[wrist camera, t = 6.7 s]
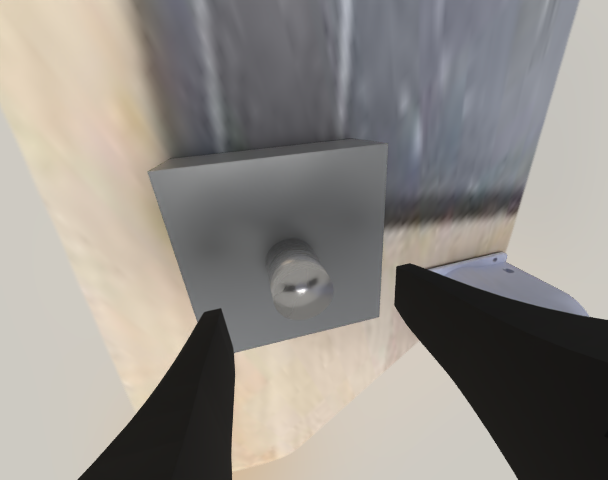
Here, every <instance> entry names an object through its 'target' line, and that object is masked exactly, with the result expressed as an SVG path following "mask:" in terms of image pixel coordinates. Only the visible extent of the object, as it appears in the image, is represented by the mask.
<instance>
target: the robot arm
mask: <svg viewBox="0 0 608 480" xmlns="http://www.w3.org/2000/svg"><path fill="white" fill-rule="evenodd" d="M506 259H507V254H506V253H504V252H499V253H495V254H491V255H487V256H482V257H478V258H474V259H470V260H465V261H461V262H457V263H453V264H449V265H444V266H440V267H436V268H432V269H425V268H422V267H419V266H416V265H413V264H410V263H409V264H405V265H401V266H397V267H396V285H395V303H394V305H395V307H396V309H397V310H398V312H399V314H400V315H401V317H402V318H403V320H404V321H405V323H406V324H407V326H408V327H409V328H410V329H411V331H412V332H413V333H414V334H415V335H416V337H417V338H418V339H419V340H420V341H421V343H422V344H423V345H424V346H425V347H426V348H427V350H428V351H429V352H430V353H431V354H432V356H433V357H434V358H435V359H436V360H437V361H438V363H439V364H440V365H441V366H442V367H443V368H444V370H445V371H446V372H447V373H448V375H449V376H450V377H451V378H452V380H453V381H454V382H455V384H456V385H457V386H458V388H459V389H460V391H461V392H462V394H463V395H464V396H465V398H466V399H467V401H468V402H469V403H470V405H471V406H472V408H473V409H474V411H475V412H476V414H477V415H478V417H479V418H480V420H481V421H482V423H483V424H484V426H485V427H486V429H487V430H488V432H489V433H490V435H491V436H492V438H493V440H494V441H495V443H496V444H497V446H498V448H499V449H500V451H501V452H502V454H503V455H504V457H505V459H506V460H507V462H508V464H509V465H510V467H511V468H512V470H513V472H514V473H515V475H516V477H517V478H518V480H608V320H604V319H598V318H593V317H589V315H588V314H587V312H586V311H585V309H584V308H583V307H582V306H581V305H580V304H579V303H578V302H577V301H576V300H575V299H574V298H573V297H571V296H570V295H568V294H567V293H565V292H563V291H562V290H559V289H558V288H556V287H554V286H552V285H550V284H548V283H546V282H544V281H542V280H540V279H538V278H536V277H534V276H532V275H530V274H528V273H526V272H524V271H522V270H520V269H519V268H517V267H515V266H513V265H511V264H509V263H507V262H506ZM234 386H235V364H234V349H233V345H232V342H231V338H230V335H229V332H228V329H227V325H226V322H225V319H224V316H223V312H222V309H221V308H219V309H215V310H210V311H206V312H204V313H203V314H202V316H201V318H200V319H199V321H198V323H197V325H196V327H195V328H194V330H193V332H192V333H191V335H190V337H189V339H188V340H187V342H186V344H185V345H184V347H183V348H182V350H181V352H180V353H179V355H178V356H177V358H176V360H175V361H174V363H173V364H172V366H171V367H170V369H169V370H168V371H167V373H166V374H165V376H164V377H163V379H162V380H161V382H160V383H159V384H158V386H157V387H156V389H155V390H154V391H153V393H152V394H151V395H150V397H149V398H148V399H147V401H146V402H145V403H144V405H143V406H142V407H141V408H140V410H139V411H138V412H137V413H136V415H135V416H134V417H133V418H132V420H131V421H130V422H129V423H128V425H127V426H126V427H125V428H124V429H123V430H122V431H121V432H120V434H119V435H118V436H117V437H116V438H115V439H114V440H113V441H112V443H111V444H110V445H109V446H108V447H107V448H106V449H105V451H104V452H103V453H102V454H101V455H100V456H99V457H98V458H97V460H96V461H95V462H94V463H93V464H92V465H91V466H90V467H89V468H88V469H87V470H86V471H85V472H84V473H83V474H82V476H80V478H79V479H78V480H232V463H231V446H232V424H233V405H234Z"/></svg>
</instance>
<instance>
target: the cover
mask: <svg viewBox="0 0 608 480" xmlns="http://www.w3.org/2000/svg"><path fill="white" fill-rule="evenodd" d="M387 154H388V143H382V142H374V141H367V140H359V139H343V140H334V141H325V142H316V143H307V144H298V145H289V146H280V147H271V148H262V149H253V150H244V151H235V152H226V153H217V154H208V155H199V156H190V157H181V158H172V159H169V160H167V161H165V162H164V163H162V164H160V165H158V166H157V167H155V168H153V169H151V170H149V171H148V175H149V178H150V181H151V184H152V187H153V190H154V193H155V196H156V199H157V202H158V205H159V208H160V211H161V214H162V217H163V220H164V223H165V226H166V229H167V232H168V235H169V238H170V241H171V244H172V247H173V250H174V253H175V256H176V259H177V262H178V265H179V268H180V271H181V274H182V277H183V280H184V283H185V286H186V289H187V292H188V295H189V298H190V301H191V304H192V307H193V310H194V313H195V316H196V319H197V322H198V321H199V319H200V318H201V316H202V314H203V313H204V312H206V311H210V310H215V309H219V308H221V309H222V312H223V316H224V319H225V322H226V325H227V329H228V332H229V335H230V338H231V342H232V345H233V349H234V353H236V352H240V351H244V350H248V349H252V348H256V347H260V346H264V345H268V344H272V343H276V342H280V341H284V340H288V339H292V338H296V337H300V336H304V335H308V334H312V333H316V332H320V331H325V330H329V329H333V328H337V327H341V326H345V325H349V324H353V323H357V322H361V321H365V320H369V319H373V318H377V317H379V310H380V291H381V271H382V252H383V232H384V213H385V193H386V174H387Z"/></svg>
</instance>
